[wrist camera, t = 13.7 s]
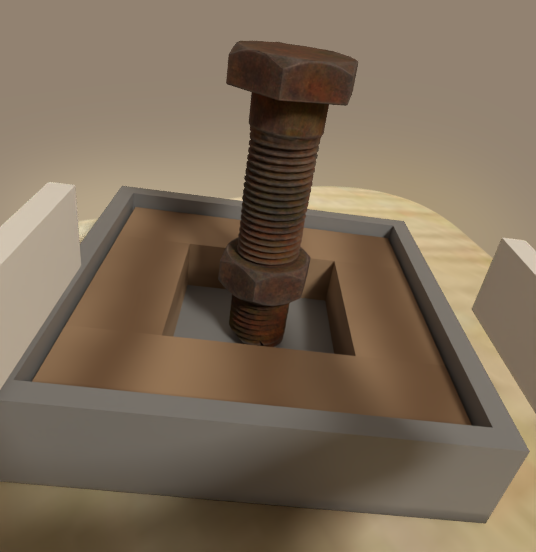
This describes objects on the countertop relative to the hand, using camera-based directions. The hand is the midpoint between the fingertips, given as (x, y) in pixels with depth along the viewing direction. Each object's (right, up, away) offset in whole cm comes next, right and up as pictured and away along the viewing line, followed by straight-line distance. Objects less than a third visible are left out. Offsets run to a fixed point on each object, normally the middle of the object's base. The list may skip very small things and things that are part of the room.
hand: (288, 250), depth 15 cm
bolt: (-1, -4, +13) cm, 13 cm away
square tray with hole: (-1, -5, +13) cm, 14 cm away
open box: (-1, -5, +13) cm, 14 cm away
